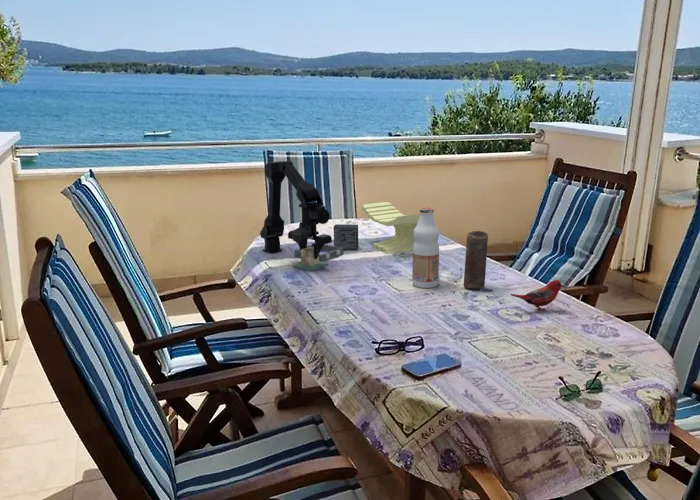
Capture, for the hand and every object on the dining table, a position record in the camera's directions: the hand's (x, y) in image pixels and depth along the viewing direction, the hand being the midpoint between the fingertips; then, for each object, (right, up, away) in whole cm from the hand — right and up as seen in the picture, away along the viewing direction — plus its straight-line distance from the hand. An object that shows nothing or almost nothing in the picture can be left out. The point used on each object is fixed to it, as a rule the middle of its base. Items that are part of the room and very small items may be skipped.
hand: (310, 257), depth 243 cm
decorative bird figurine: (+75, -17, -49) cm, 91 cm away
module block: (0, -2, +1) cm, 3 cm away
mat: (0, -3, +1) cm, 4 cm away
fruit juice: (+43, -10, -23) cm, 50 cm away
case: (+3, +1, +15) cm, 16 cm away
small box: (+14, +4, +26) cm, 30 cm away
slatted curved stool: (+36, +4, +26) cm, 44 cm away
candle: (+60, -11, -27) cm, 67 cm away
